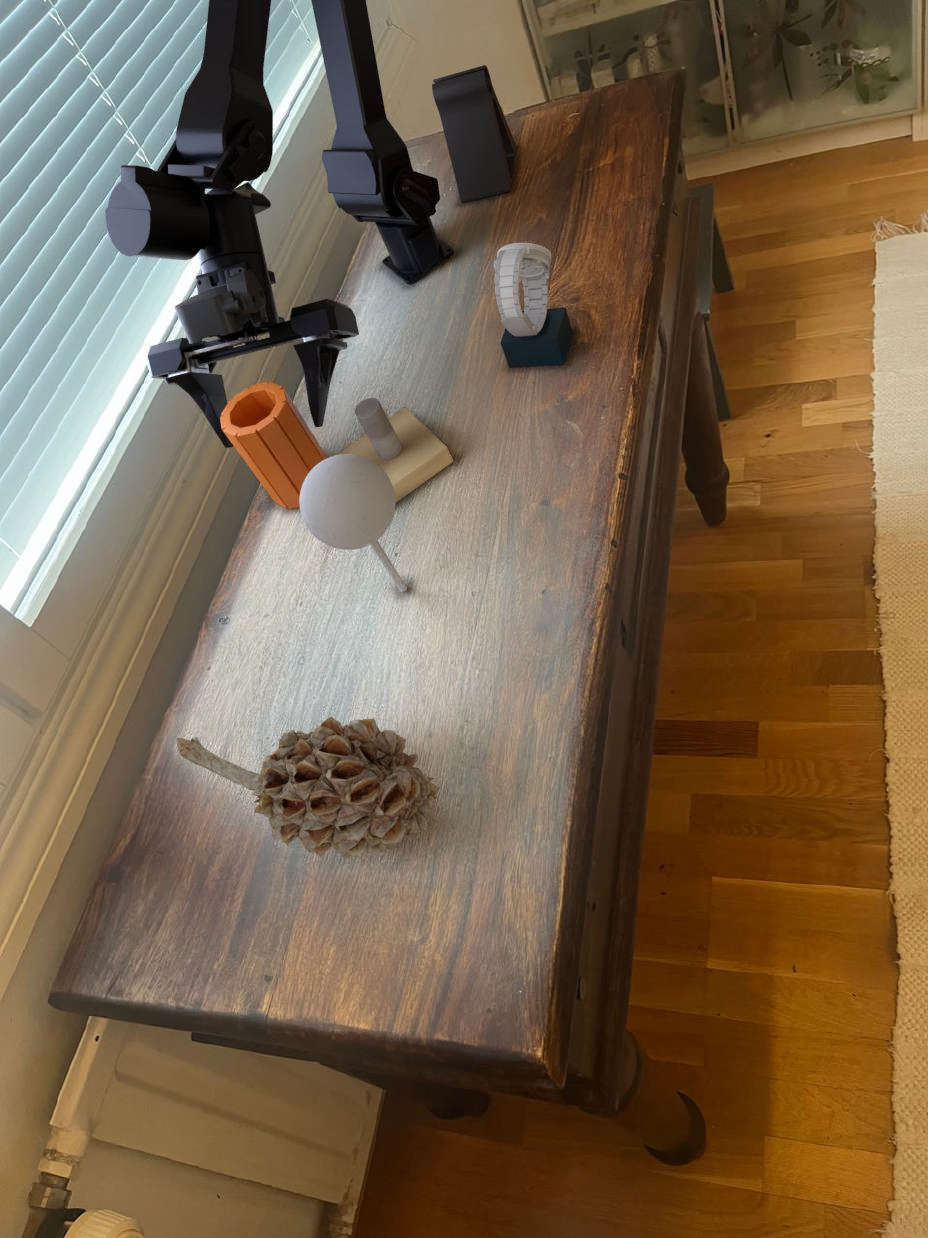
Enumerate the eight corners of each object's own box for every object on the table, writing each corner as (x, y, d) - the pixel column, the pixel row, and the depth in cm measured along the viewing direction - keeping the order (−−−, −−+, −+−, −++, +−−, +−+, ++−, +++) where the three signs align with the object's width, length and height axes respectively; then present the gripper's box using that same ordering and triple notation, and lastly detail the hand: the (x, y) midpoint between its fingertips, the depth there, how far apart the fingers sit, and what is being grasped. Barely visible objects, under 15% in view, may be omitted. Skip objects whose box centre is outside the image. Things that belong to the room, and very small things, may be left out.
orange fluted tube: (262, 485, 92) (209, 412, 84) (317, 447, 92) (269, 371, 84) (288, 519, 88) (235, 447, 80) (345, 479, 88) (297, 403, 80)
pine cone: (475, 764, 67) (429, 698, 59) (439, 895, 62) (383, 842, 55) (227, 732, 76) (158, 672, 68) (179, 845, 71) (99, 794, 63)
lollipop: (454, 557, 78) (387, 434, 67) (426, 628, 75) (351, 511, 64) (381, 552, 82) (305, 433, 70) (352, 620, 78) (267, 506, 67)
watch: (577, 319, 91) (550, 220, 82) (560, 377, 87) (530, 280, 78) (522, 323, 93) (491, 227, 84) (504, 381, 89) (469, 286, 80)
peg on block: (345, 468, 89) (310, 412, 83) (412, 421, 90) (383, 362, 84) (383, 512, 84) (349, 456, 78) (454, 461, 85) (426, 402, 79)
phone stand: (510, 192, 106) (480, 89, 97) (461, 204, 108) (426, 103, 99) (517, 148, 111) (488, 45, 102) (470, 160, 113) (437, 60, 104)
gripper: (88, 275, 78) (136, 461, 80) (289, 215, 72) (333, 415, 75) (162, 292, 88) (201, 456, 91) (341, 241, 83) (378, 415, 86)
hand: (273, 437), depth 85 cm, fingers open, 9 cm apart
